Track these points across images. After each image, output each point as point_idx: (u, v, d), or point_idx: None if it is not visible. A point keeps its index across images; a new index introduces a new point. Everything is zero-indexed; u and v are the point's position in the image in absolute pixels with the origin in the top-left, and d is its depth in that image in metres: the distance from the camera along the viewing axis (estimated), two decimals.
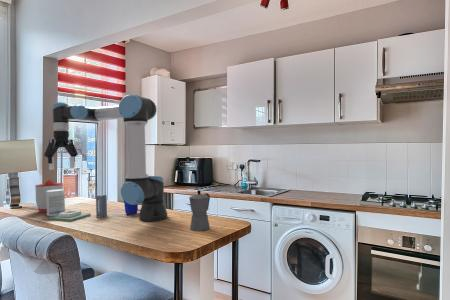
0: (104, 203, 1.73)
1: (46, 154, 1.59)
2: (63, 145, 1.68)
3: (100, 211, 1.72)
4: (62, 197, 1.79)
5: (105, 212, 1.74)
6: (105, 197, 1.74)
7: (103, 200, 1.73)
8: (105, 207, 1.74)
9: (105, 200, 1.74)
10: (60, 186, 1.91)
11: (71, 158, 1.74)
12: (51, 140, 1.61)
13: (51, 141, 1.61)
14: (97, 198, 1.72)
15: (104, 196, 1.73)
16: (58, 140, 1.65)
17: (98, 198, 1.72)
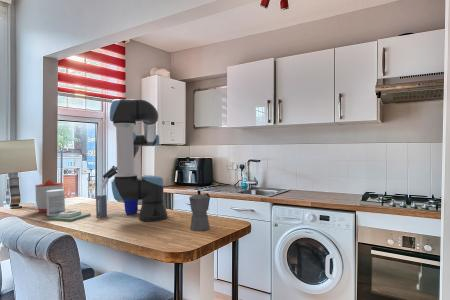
0: (104, 203, 1.73)
1: None
2: None
3: (100, 211, 1.72)
4: (62, 197, 1.79)
5: (105, 212, 1.74)
6: (105, 197, 1.74)
7: (103, 200, 1.73)
8: (105, 207, 1.74)
9: (105, 200, 1.74)
10: (60, 186, 1.91)
11: None
12: None
13: None
14: (97, 198, 1.72)
15: (104, 196, 1.73)
16: None
17: (98, 198, 1.72)
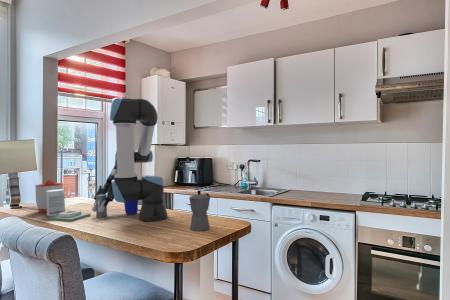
0: None
1: None
2: (108, 188, 1.79)
3: (100, 211, 1.72)
4: (62, 197, 1.79)
5: (105, 212, 1.74)
6: (105, 197, 1.74)
7: (103, 200, 1.73)
8: (105, 207, 1.74)
9: None
10: (60, 186, 1.91)
11: None
12: None
13: None
14: (97, 198, 1.72)
15: (104, 196, 1.73)
16: (105, 184, 1.82)
17: (98, 198, 1.72)
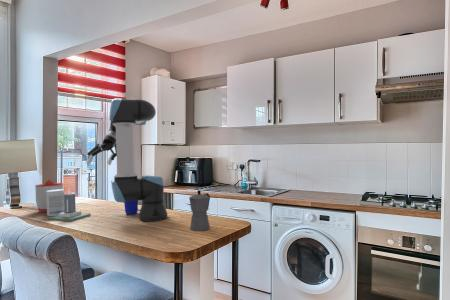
0: (73, 202, 1.71)
1: None
2: (105, 147, 1.89)
3: (69, 210, 1.69)
4: (62, 197, 1.79)
5: (74, 211, 1.72)
6: (74, 196, 1.72)
7: (72, 200, 1.70)
8: (74, 206, 1.72)
9: (74, 199, 1.72)
10: (60, 186, 1.91)
11: None
12: None
13: None
14: (65, 197, 1.69)
15: (73, 195, 1.71)
16: (102, 144, 1.92)
17: (67, 197, 1.69)
